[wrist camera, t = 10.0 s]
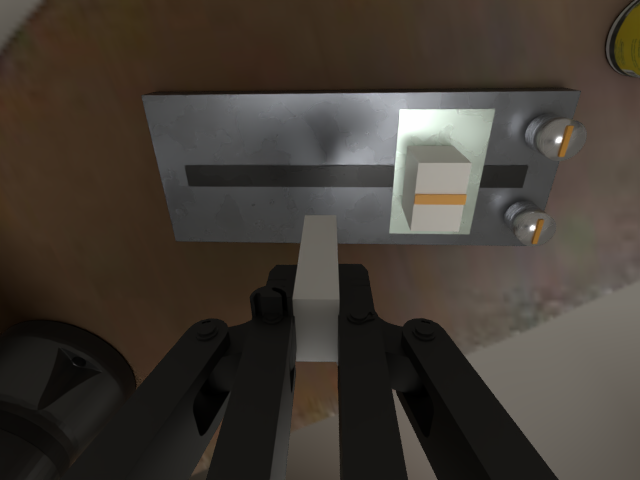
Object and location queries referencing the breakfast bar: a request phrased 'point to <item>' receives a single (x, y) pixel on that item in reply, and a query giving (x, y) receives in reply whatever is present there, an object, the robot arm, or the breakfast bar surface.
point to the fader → (435, 188)
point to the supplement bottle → (625, 42)
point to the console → (357, 161)
